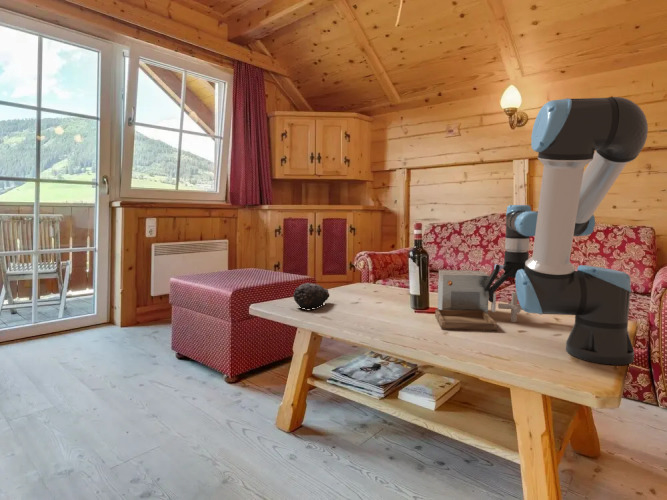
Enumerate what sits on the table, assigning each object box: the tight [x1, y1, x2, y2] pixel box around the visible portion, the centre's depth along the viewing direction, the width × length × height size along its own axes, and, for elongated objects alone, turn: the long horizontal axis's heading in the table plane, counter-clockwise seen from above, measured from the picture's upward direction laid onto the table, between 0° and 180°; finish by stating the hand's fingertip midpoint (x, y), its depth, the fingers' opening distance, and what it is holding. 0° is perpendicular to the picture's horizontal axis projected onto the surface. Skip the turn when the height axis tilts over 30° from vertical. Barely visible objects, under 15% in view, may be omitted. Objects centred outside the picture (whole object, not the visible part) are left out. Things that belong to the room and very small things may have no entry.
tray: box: [434, 308, 498, 333], centre depth 139 cm, size 17×17×2 cm
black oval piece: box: [292, 282, 330, 309], centre depth 163 cm, size 10×18×10 cm, turn 156°
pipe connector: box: [497, 291, 524, 323], centre depth 141 cm, size 10×10×10 cm
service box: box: [437, 269, 490, 315], centre depth 153 cm, size 13×16×15 cm
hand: (513, 311), depth 142 cm, fingers open, 13 cm apart
